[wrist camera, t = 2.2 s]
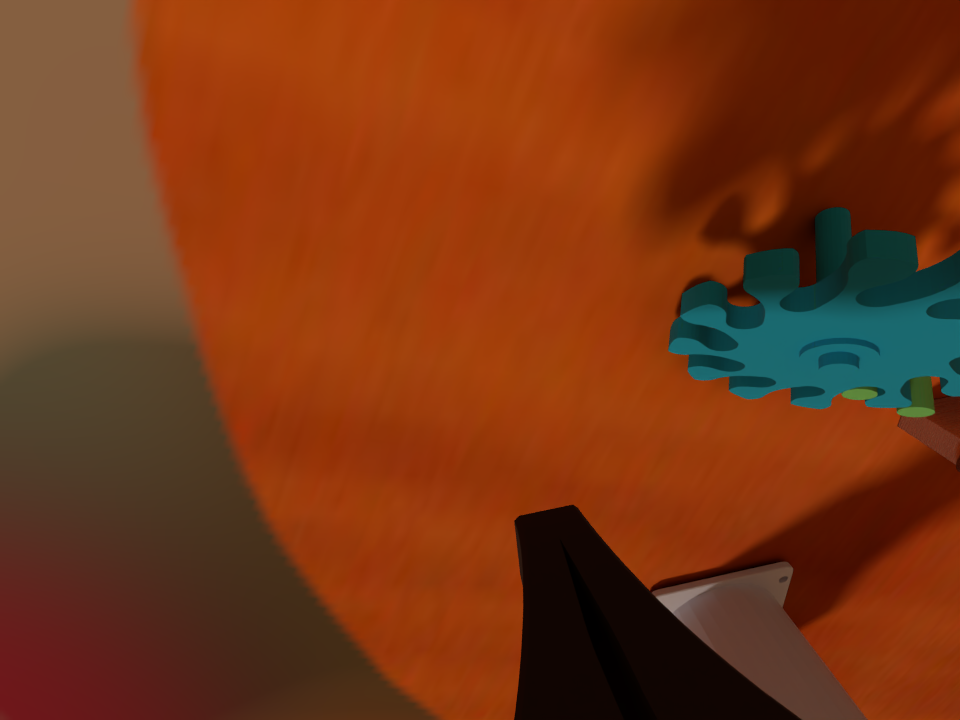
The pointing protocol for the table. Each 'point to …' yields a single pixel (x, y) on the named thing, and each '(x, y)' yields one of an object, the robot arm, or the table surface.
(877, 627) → the table surface
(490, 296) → the table surface
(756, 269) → the teal cogwheel
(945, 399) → the frame
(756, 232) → the table surface
